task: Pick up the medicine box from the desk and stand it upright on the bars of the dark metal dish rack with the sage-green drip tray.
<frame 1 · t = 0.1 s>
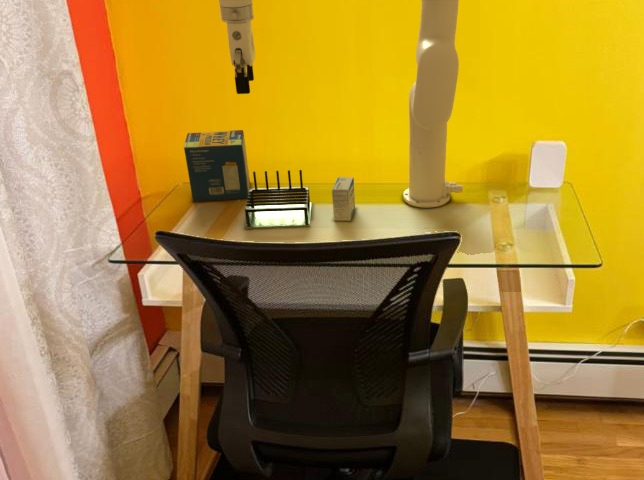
hand: (245, 86, 192), 31 cm above the table, tool pointing down, fingers open, 9 cm apart
medicine box: (344, 215, 205), on the table
dish rack: (279, 216, 205), on the table
protein box: (221, 193, 218), on the table
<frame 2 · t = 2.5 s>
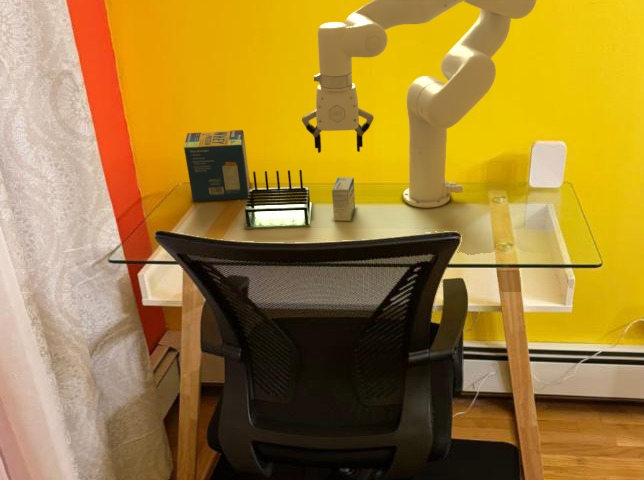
hand: (338, 150, 194), 17 cm above the table, tool pointing down, fingers open, 9 cm apart
nothing on the table moved.
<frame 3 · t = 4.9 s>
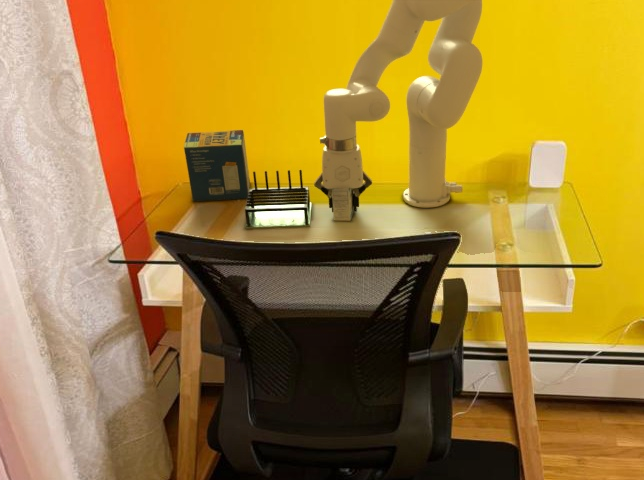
hand: (344, 209, 204), 2 cm above the table, tool pointing down, fingers closed on medicine box, 5 cm apart
medicine box: (344, 215, 205), on the table, touching gripper
everything else where it was.
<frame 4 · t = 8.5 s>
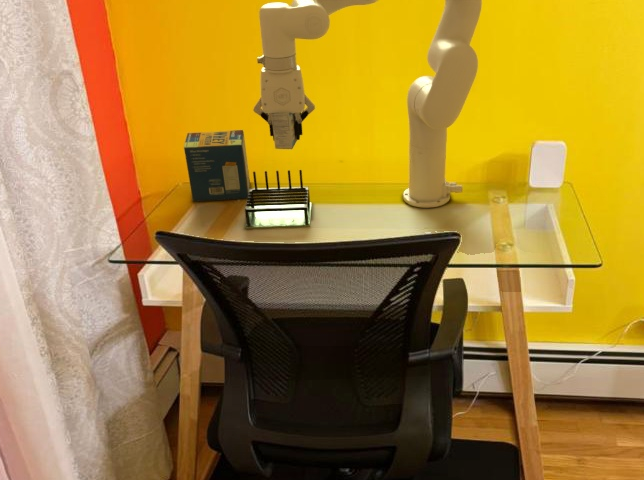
hand: (286, 137, 192), 21 cm above the table, tool pointing down, fingers closed on medicine box, 5 cm apart
medicine box: (287, 144, 193), point 19 cm above the table, touching gripper
everything else where it was.
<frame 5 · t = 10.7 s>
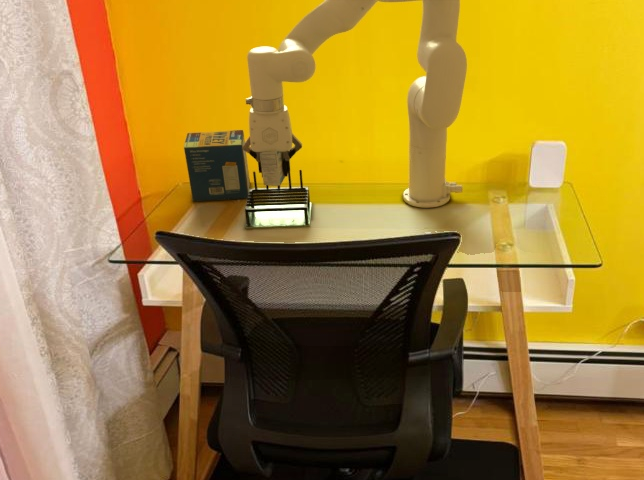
hand: (275, 174, 198), 12 cm above the table, tool pointing down, fingers closed on medicine box, 5 cm apart
medicine box: (275, 180, 199), point 10 cm above the table, touching gripper
everything else where it was.
when the fingers open (7 cm above the table, at t = 12.2 s): medicine box stays where it is, resting on dish rack.
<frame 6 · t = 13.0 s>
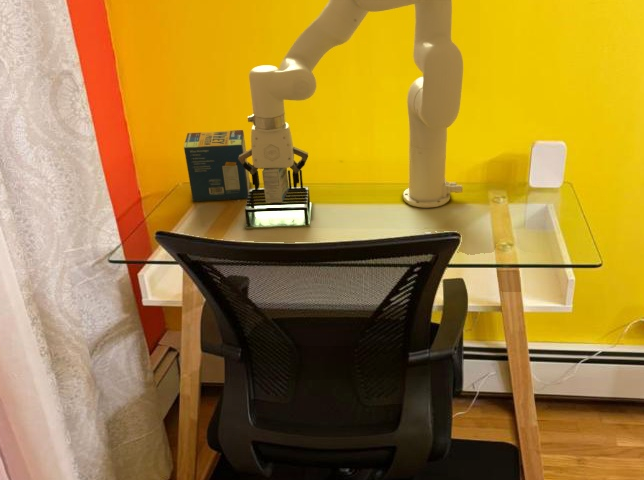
hand: (276, 186, 200), 8 cm above the table, tool pointing down, fingers open, 9 cm apart
medicine box: (277, 197, 201), point 5 cm above the table, touching dish rack
everything else where it was.
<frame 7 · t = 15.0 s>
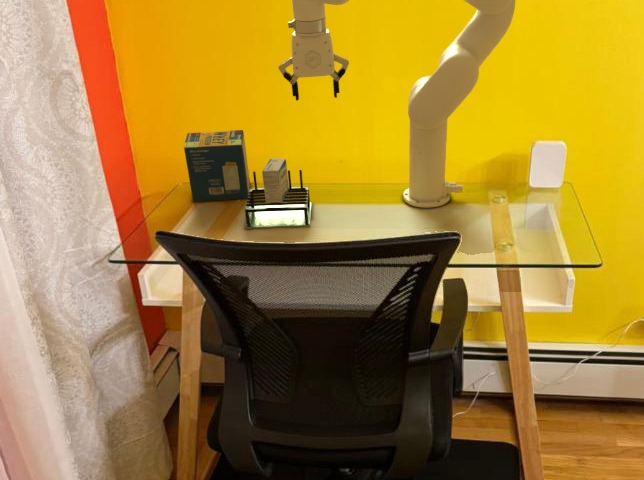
hand: (316, 97, 198), 27 cm above the table, tool pointing down, fingers open, 9 cm apart
nothing on the table moved.
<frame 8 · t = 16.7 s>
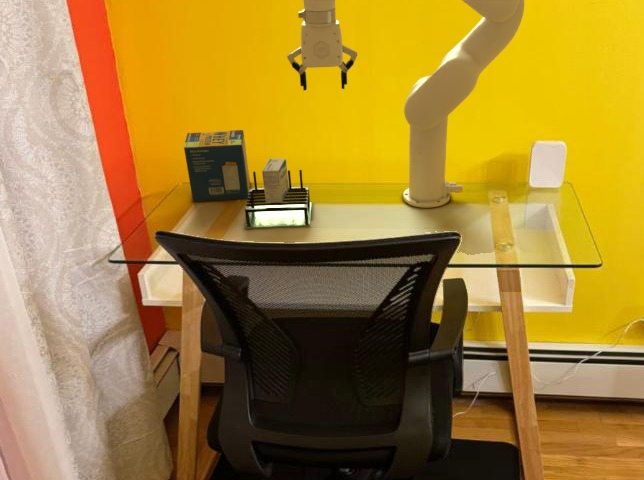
hand: (324, 88, 199), 28 cm above the table, tool pointing down, fingers open, 9 cm apart
nothing on the table moved.
at the end: medicine box inside the target area on the dish rack (0.0 cm from its centre), point 5.5 cm above the dish rack's base; medicine box tilted 0°; the gripper is holding nothing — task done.
